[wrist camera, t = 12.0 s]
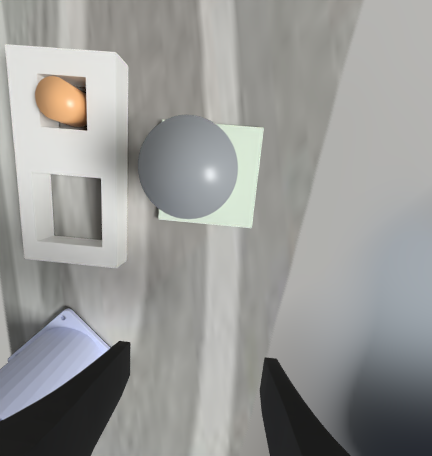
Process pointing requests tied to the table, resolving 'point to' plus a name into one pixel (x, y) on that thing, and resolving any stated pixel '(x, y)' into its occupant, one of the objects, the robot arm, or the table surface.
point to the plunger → (61, 101)
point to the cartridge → (188, 166)
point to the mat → (245, 184)
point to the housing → (70, 150)
